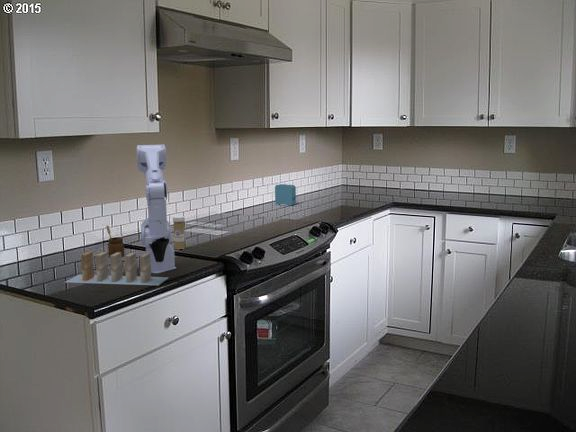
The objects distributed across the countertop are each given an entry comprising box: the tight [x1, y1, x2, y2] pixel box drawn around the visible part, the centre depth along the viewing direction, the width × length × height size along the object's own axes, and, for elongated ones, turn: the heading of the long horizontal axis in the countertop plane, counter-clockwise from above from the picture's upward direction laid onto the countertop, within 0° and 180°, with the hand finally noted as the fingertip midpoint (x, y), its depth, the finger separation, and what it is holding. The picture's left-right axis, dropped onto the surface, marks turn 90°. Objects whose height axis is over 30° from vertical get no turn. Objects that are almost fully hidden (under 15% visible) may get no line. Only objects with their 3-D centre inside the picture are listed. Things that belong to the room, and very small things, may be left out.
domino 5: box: [139, 252, 152, 283], centre depth 206 cm, size 2×5×9 cm, turn 170°
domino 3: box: [109, 252, 124, 282], centre depth 208 cm, size 2×5×9 cm, turn 170°
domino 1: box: [80, 251, 95, 281], centre depth 210 cm, size 2×5×9 cm, turn 171°
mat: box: [64, 274, 170, 286], centre depth 209 cm, size 32×10×1 cm, turn 80°
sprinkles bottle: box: [172, 215, 186, 251], centre depth 256 cm, size 5×5×13 cm
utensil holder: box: [105, 225, 125, 258], centre depth 245 cm, size 6×6×12 cm
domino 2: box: [95, 251, 109, 281], centre depth 209 cm, size 2×5×9 cm, turn 171°
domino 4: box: [124, 252, 138, 282], centre depth 207 cm, size 2×5×9 cm, turn 170°
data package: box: [274, 183, 297, 206], centre depth 379 cm, size 12×4×12 cm, turn 58°
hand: (159, 261), depth 205 cm, fingers closed
